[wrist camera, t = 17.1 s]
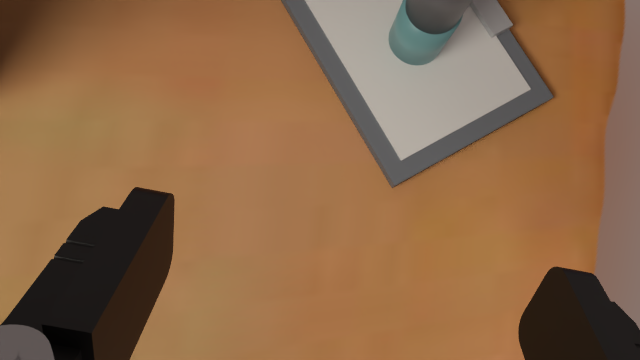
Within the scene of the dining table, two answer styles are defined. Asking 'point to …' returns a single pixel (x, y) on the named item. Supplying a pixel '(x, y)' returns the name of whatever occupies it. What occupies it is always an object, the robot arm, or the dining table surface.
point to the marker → (424, 28)
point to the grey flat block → (419, 80)
